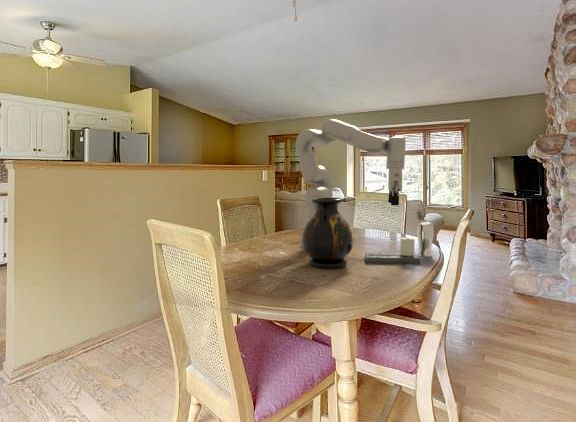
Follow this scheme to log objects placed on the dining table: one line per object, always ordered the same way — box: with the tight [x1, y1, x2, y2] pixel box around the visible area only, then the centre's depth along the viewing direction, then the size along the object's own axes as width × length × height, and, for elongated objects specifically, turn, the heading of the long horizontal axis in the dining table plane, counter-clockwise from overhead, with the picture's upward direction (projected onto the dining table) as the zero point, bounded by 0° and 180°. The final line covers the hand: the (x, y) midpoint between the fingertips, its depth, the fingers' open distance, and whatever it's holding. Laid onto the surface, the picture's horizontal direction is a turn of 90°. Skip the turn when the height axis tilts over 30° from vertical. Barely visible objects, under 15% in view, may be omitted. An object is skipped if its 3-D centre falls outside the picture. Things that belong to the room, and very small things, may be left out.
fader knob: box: [399, 237, 415, 256], centre depth 151 cm, size 5×4×7 cm
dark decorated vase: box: [301, 197, 354, 270], centre depth 148 cm, size 22×22×28 cm
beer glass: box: [416, 221, 435, 258], centre depth 161 cm, size 7×7×15 cm
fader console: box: [364, 252, 422, 265], centre depth 153 cm, size 22×9×3 cm, turn 82°
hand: (393, 204), depth 158 cm, fingers open, 9 cm apart
